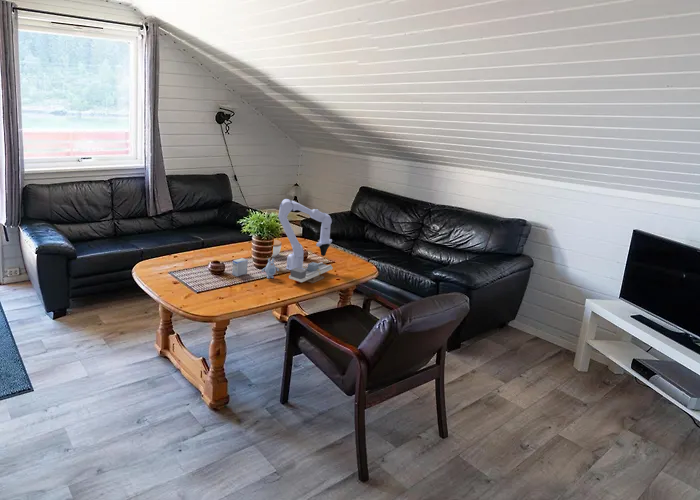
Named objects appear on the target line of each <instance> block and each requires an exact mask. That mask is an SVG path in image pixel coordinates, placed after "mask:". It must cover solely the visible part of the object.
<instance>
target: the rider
mask: <svg viewBox="0 0 700 500" xmlns="http://www.w3.org/2000/svg"><path fill="white" fill-rule="evenodd" d="M318 263H319V262H318ZM318 263H317V262H314V261H311V262H310V263H308V264H307V268H308V271H311V272H313V271H316V270H317V269H319V264H318Z"/></svg>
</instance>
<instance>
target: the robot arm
mask: <svg viewBox="0 0 700 500" xmlns="http://www.w3.org/2000/svg"><path fill="white" fill-rule="evenodd" d="M295 211H299V212H302V213H305V214H307V215H309V216H310V218H311V219H313V220H315V221H317V222H319V223H321V226H320V235H319V241H317V242H316V245H315V246H316V247H317V248H318V247H319V250H320V255H321V256H322V257H325V256H326V254H327V252H328V250H329V248H330V245H331V243H332V242H333V239H332V238H331V226H332V225H331V224H332V223H333V219H332V218H331V216H330V214H328V213H326V212H322V211H320V210H319V209H318V208H316V209H315V208H313V209H310V208H309V207H306V206H305V205H303V204H301V203H299V202H297V201H295V200H291V199H289V198H284V199H283V200H282V201H281V203H280V204H279V210H278V217H277V218H278V219H279V222H280V224H281V226H282V228H283V230H284V232H285V234H286V236H287V239H288V241H289V243H290V245H291V248H292V253H289V254H288V255H287V257H286V267H285V269H287V270H289V271H291V269H294V268H299V269H305V268H306V267H305V268H304V267H303V265H304V254H305V253H304V252H305V251H304V246H303V245H302V244H301V243H300V241H299V240H298V237H296V234H295V231H294V229H293V227H292V225H291V223H290V221H289V218H288V216H289V214H290V213H291V212H295Z"/></svg>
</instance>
